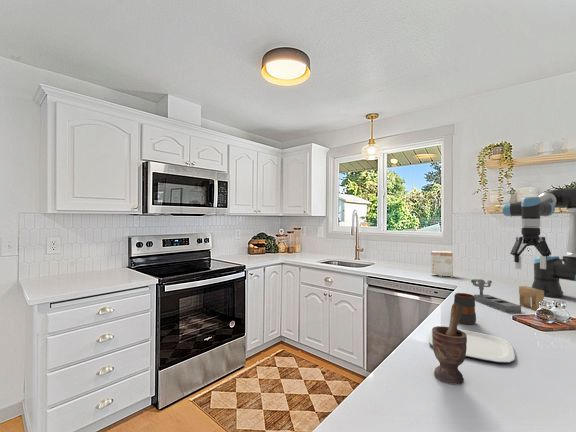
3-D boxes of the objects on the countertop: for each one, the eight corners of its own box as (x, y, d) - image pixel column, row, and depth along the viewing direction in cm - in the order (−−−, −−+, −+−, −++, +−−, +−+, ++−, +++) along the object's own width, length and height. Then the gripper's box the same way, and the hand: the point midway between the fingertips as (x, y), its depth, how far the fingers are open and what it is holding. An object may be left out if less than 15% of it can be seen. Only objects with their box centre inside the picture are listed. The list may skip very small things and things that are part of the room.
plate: (518, 371, 89) (518, 366, 89) (425, 351, 102) (425, 346, 102) (510, 342, 110) (510, 337, 110) (434, 328, 123) (434, 324, 124)
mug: (477, 319, 135) (477, 293, 135) (475, 326, 125) (475, 298, 125) (455, 315, 140) (455, 290, 140) (451, 322, 130) (451, 295, 130)
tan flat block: (526, 305, 157) (526, 286, 157) (543, 310, 147) (543, 290, 147) (519, 305, 157) (519, 286, 157) (536, 311, 147) (536, 290, 147)
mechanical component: (492, 298, 171) (492, 280, 171) (472, 297, 173) (472, 279, 173) (489, 296, 174) (489, 279, 174) (470, 295, 176) (470, 278, 176)
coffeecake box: (452, 276, 237) (452, 251, 237) (452, 277, 231) (452, 252, 231) (432, 274, 245) (432, 250, 245) (431, 275, 239) (431, 251, 239)
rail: (487, 299, 167) (487, 294, 167) (521, 312, 145) (521, 305, 145) (473, 300, 166) (473, 294, 166) (505, 312, 144) (505, 306, 145)
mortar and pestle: (433, 363, 93) (433, 298, 93) (465, 370, 89) (465, 302, 89) (431, 380, 82) (431, 308, 83) (467, 389, 78) (467, 313, 79)
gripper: (546, 227, 157) (546, 267, 157) (502, 226, 155) (501, 267, 155) (560, 227, 150) (560, 270, 149) (514, 227, 148) (514, 270, 147)
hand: (530, 268), depth 152 cm, fingers open, 13 cm apart
